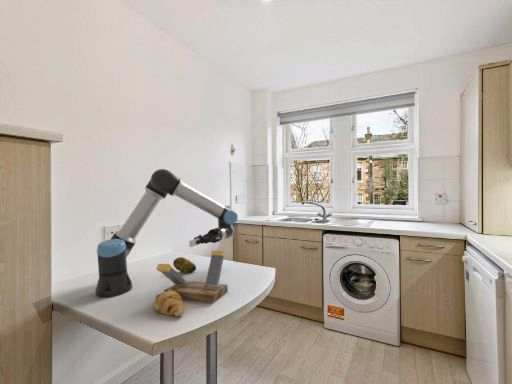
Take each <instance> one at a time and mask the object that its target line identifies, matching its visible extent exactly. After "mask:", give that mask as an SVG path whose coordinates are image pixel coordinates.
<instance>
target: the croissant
mask: <svg viewBox="0 0 512 384" xmlns="http://www.w3.org/2000/svg"><path fill="white" fill-rule="evenodd" d="M153 307H154V309H155V310H156V311H157V312H158V313H160V314H162V315H167V316H174V317H181V316H182V315H183V313H184V310H185V303H184V301H183V299H182V298H181V297H180V295H179V293H177V292H175V291H171V290H168V291H165V292H164V291H163V292H162V293H158V294H156V298H155V300H154V306H153Z"/></svg>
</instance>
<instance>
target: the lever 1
mask: <svg viewBox="0 0 512 384" xmlns="http://www.w3.org/2000/svg"><path fill="white" fill-rule="evenodd" d="M155 268H156V271H158V272H160V273H161V274H162V275H163V276H165V277H166V278H167V279H168V280H170V281H171V282H172V283H173V285H175V284H181V285H187V284H188V281H189V280H186V279H185V278H184V277H183V276H182V275H180V273H178V272H177V270H175V269H174V268H173V266H172V265H171V264H169V263H158V264H157V267H155Z"/></svg>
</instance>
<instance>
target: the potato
mask: <svg viewBox="0 0 512 384" xmlns="http://www.w3.org/2000/svg"><path fill="white" fill-rule="evenodd" d="M172 264H173V267H174V268H175V269H176V271H177V270H178V271H179V272H180V273H183V274H190V273H194V272H195V271H196V270H197V267H196V266H197V265H196V264H195V263H194V262H192V261H191V260H189V259H187V258H185V257H181V256H180V257H177V258H175V259H173V263H172Z"/></svg>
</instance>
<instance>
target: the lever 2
mask: <svg viewBox="0 0 512 384" xmlns="http://www.w3.org/2000/svg"><path fill="white" fill-rule="evenodd" d="M210 255H211V256H210V262H209V265H208V266H209V267H208V272H207V275H206V280H205V282H204V283H205V284H204V287H211V288H219V284H220V277H221V274H222V273H221V272H222V268H223V267H222V266H223V262H224V257H225V255H226V252H225V251H224V250H211V253H210Z"/></svg>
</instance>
